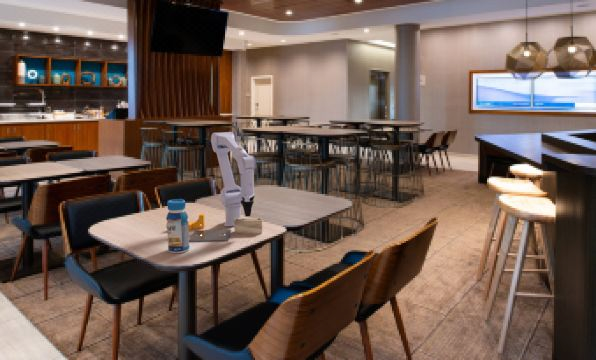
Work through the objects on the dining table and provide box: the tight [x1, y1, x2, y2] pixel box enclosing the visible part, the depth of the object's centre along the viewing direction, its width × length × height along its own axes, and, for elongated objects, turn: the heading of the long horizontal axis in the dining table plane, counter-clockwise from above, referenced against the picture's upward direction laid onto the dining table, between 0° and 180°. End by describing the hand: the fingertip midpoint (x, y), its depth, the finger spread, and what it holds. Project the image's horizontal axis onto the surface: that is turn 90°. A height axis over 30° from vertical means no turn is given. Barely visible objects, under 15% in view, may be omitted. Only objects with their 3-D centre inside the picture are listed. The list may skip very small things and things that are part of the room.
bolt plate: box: [189, 229, 232, 243], centre depth 193 cm, size 14×16×1 cm
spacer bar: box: [233, 217, 263, 235], centre depth 198 cm, size 4×12×6 cm, turn 93°
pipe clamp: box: [188, 213, 206, 231], centre depth 204 cm, size 12×4×6 cm, turn 93°
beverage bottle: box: [165, 198, 191, 254], centre depth 174 cm, size 8×8×20 cm
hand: (248, 213), depth 197 cm, fingers open, 7 cm apart
